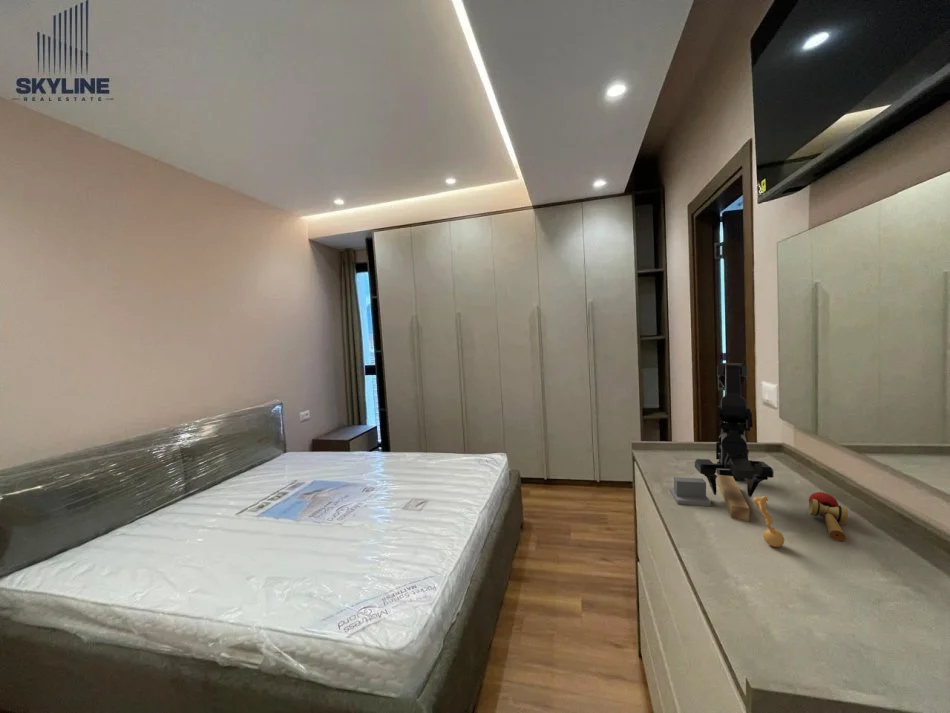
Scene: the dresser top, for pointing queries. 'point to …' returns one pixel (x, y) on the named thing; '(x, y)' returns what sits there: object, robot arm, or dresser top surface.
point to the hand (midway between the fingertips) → (732, 495)
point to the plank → (733, 498)
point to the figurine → (770, 534)
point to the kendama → (829, 513)
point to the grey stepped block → (690, 491)
